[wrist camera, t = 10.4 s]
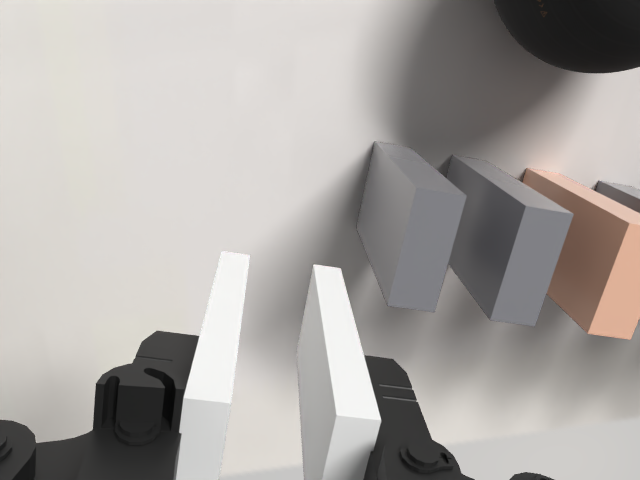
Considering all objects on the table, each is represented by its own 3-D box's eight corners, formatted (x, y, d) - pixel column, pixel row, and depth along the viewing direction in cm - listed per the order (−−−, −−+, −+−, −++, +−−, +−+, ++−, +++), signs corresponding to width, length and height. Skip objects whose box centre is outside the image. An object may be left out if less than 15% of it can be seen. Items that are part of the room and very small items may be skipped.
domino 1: (356, 227, 33) (387, 305, 23) (374, 141, 31) (416, 187, 22) (389, 232, 33) (434, 312, 23) (410, 147, 31) (466, 195, 22)
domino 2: (429, 239, 33) (489, 320, 24) (452, 154, 32) (526, 206, 22) (462, 244, 33) (535, 326, 24) (486, 160, 32) (573, 213, 22)
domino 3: (501, 250, 34) (587, 333, 24) (526, 167, 32) (629, 223, 23) (533, 255, 34) (630, 339, 25) (559, 173, 32) (674, 230, 23)
